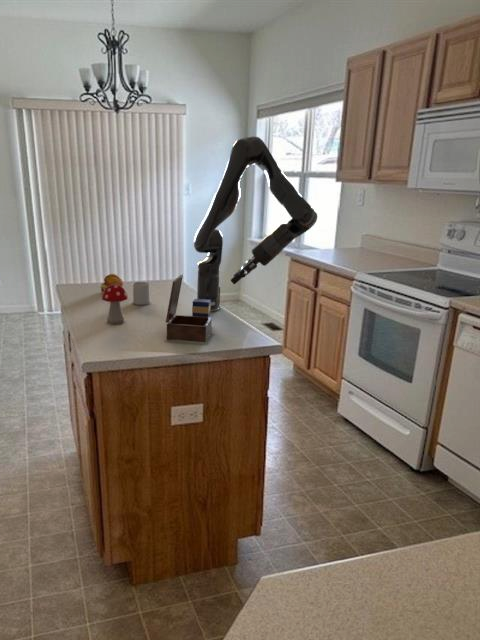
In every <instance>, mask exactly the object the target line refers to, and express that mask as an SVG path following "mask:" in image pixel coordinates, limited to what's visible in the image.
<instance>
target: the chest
mask: <svg viewBox="0 0 480 640" xmlns="http://www.w3.org/2000/svg"><path fill="white" fill-rule="evenodd" d="M212 318H213V317H211V316H210V317H199V316H192V315H183V314H182V315H181V314H175V315H174V316H173V318H172V319H171V320H170V321H169V322H168V323H166V340H169V341H170V340H172V341H173V340H174V341H183V342H184V341H185V342H196V343H197V342H198V343H206V342H207V341H208V339H209V337H210V335H211V333H212V323H213V321H212V320H213V319H212Z"/></svg>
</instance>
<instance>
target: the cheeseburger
mask: <svg viewBox="0 0 480 640" xmlns="http://www.w3.org/2000/svg"><path fill="white" fill-rule="evenodd" d="M112 284H117V285H120V286H122V287H124V281H123V279H121V278H120V277H119V276H118V275H117V274H115V273H109V274H107V275H106V276H105V277H104V278H103V283H101V284H100V286H99V287H100V291H101V293H103V292H104V290H105V289H106V287H108V286H109V285H112Z"/></svg>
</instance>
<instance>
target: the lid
mask: <svg viewBox="0 0 480 640" xmlns="http://www.w3.org/2000/svg"><path fill="white" fill-rule="evenodd" d="M183 278H184V274H180V275H179V276H177V277H176V278H175V279H174V280H173V281H172V284H171V289H170V295H169V301H168V306H167V311H166V312H167V313H166V317H165V323H166V324H167V323H168V322H169V321H170V320H171V319H172V318H173V316H174V315H177V310H178V304H179V298H180V295H181V294H180V293H181V288H182V283H183Z"/></svg>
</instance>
